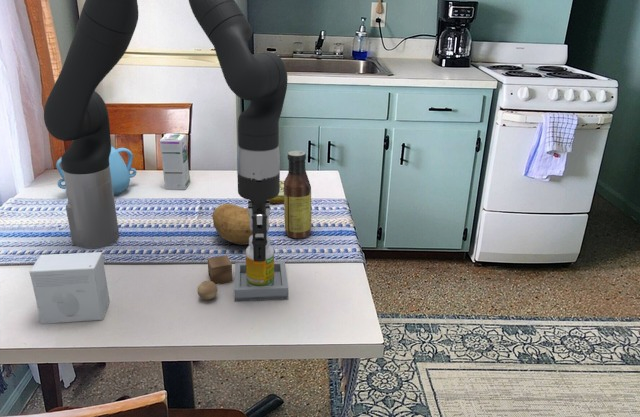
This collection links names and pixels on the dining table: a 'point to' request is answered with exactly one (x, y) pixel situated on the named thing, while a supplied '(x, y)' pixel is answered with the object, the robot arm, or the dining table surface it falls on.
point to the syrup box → (175, 161)
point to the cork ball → (207, 290)
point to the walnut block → (220, 269)
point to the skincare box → (70, 287)
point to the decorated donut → (279, 195)
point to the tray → (261, 292)
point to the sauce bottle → (297, 197)
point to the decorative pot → (112, 170)
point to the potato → (232, 223)
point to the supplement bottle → (260, 265)
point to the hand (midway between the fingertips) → (259, 249)
